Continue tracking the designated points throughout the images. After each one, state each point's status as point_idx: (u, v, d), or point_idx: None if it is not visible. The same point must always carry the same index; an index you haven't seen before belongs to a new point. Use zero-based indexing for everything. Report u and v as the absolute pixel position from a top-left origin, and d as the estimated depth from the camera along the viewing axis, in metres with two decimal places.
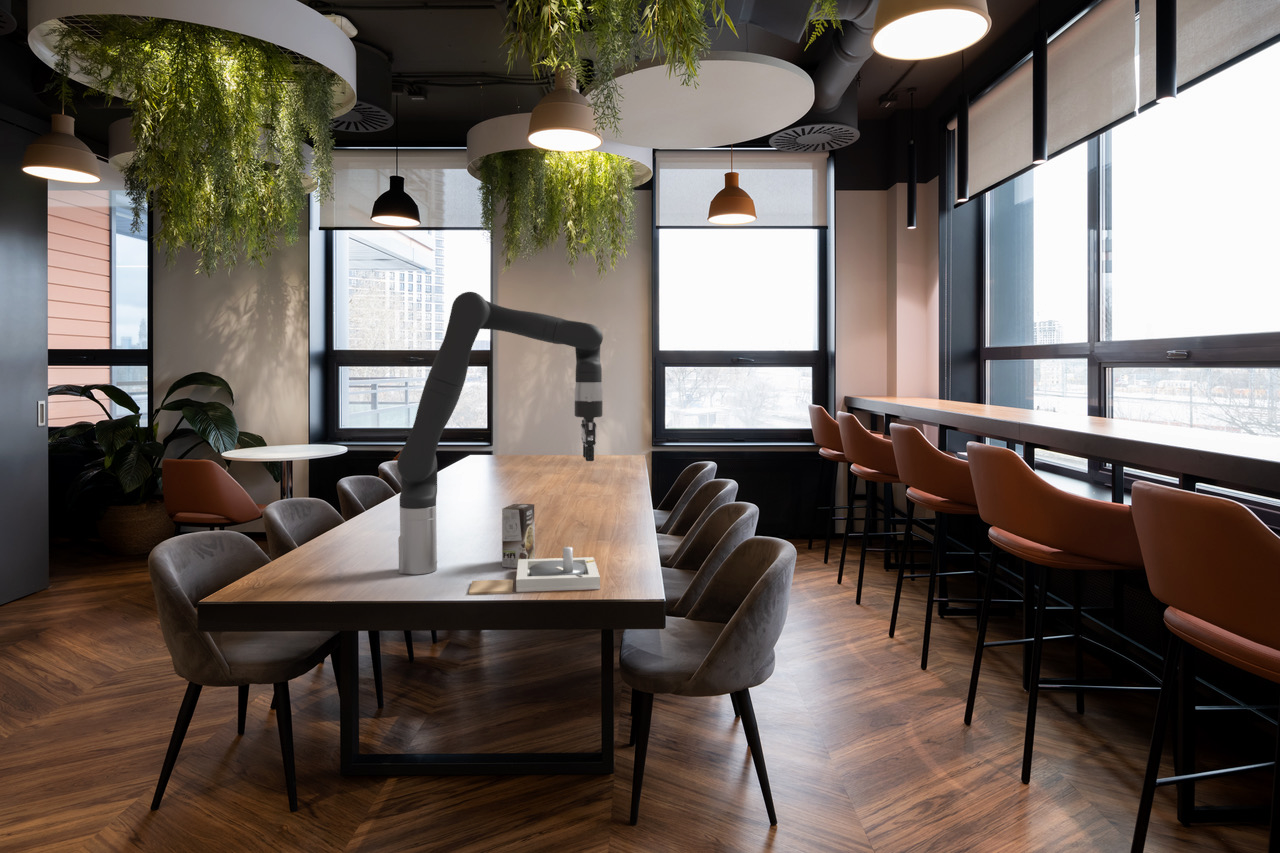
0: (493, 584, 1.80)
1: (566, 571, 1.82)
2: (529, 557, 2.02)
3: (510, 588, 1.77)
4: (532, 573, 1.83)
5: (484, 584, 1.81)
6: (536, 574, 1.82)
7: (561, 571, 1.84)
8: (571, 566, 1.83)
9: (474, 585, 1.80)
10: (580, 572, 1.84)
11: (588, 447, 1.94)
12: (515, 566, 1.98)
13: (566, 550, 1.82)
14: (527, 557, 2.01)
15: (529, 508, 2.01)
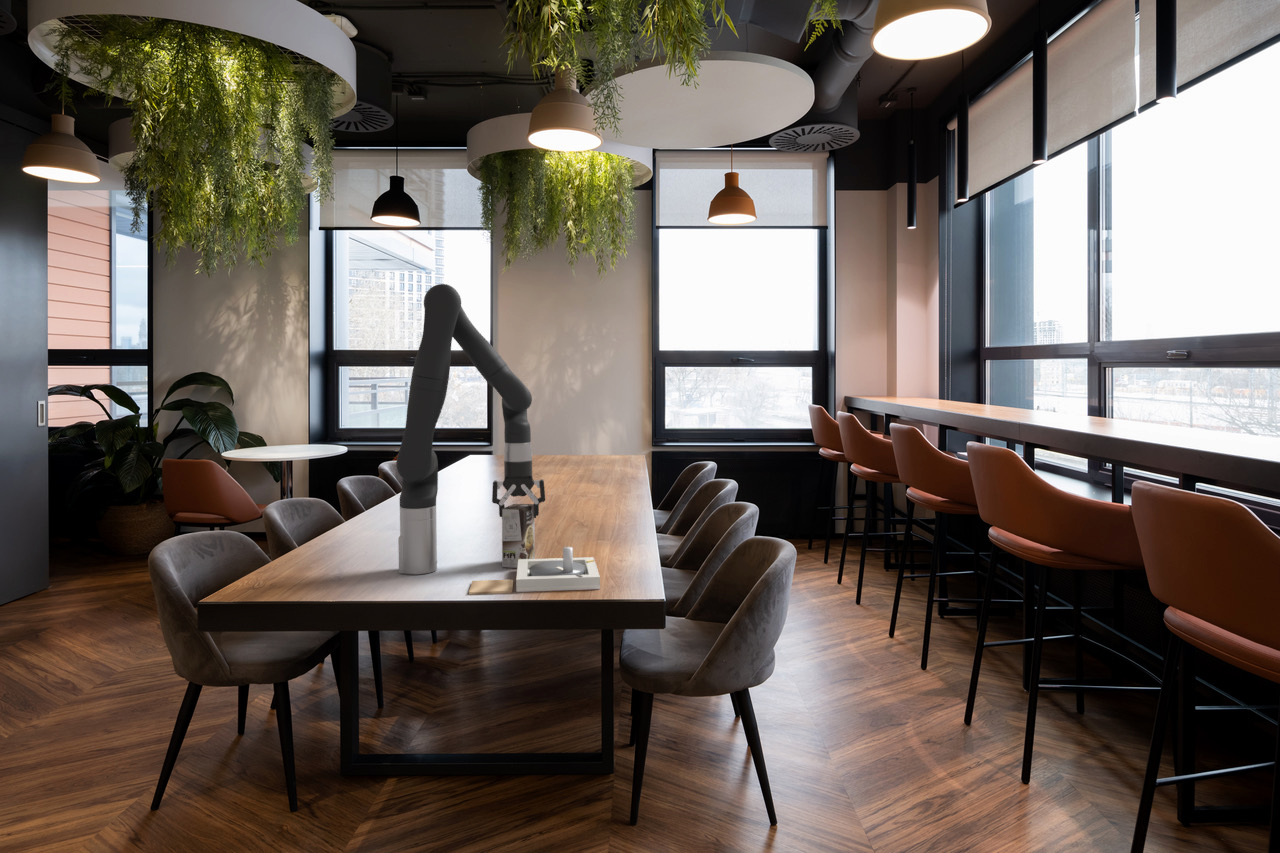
0: (493, 584, 1.80)
1: (566, 571, 1.82)
2: (529, 557, 2.02)
3: (510, 588, 1.77)
4: (532, 573, 1.83)
5: (484, 584, 1.81)
6: (536, 574, 1.82)
7: (561, 571, 1.84)
8: (571, 566, 1.83)
9: (474, 585, 1.80)
10: (580, 572, 1.84)
11: (538, 504, 2.02)
12: (515, 566, 1.98)
13: (566, 550, 1.82)
14: (527, 557, 2.01)
15: (529, 508, 2.01)
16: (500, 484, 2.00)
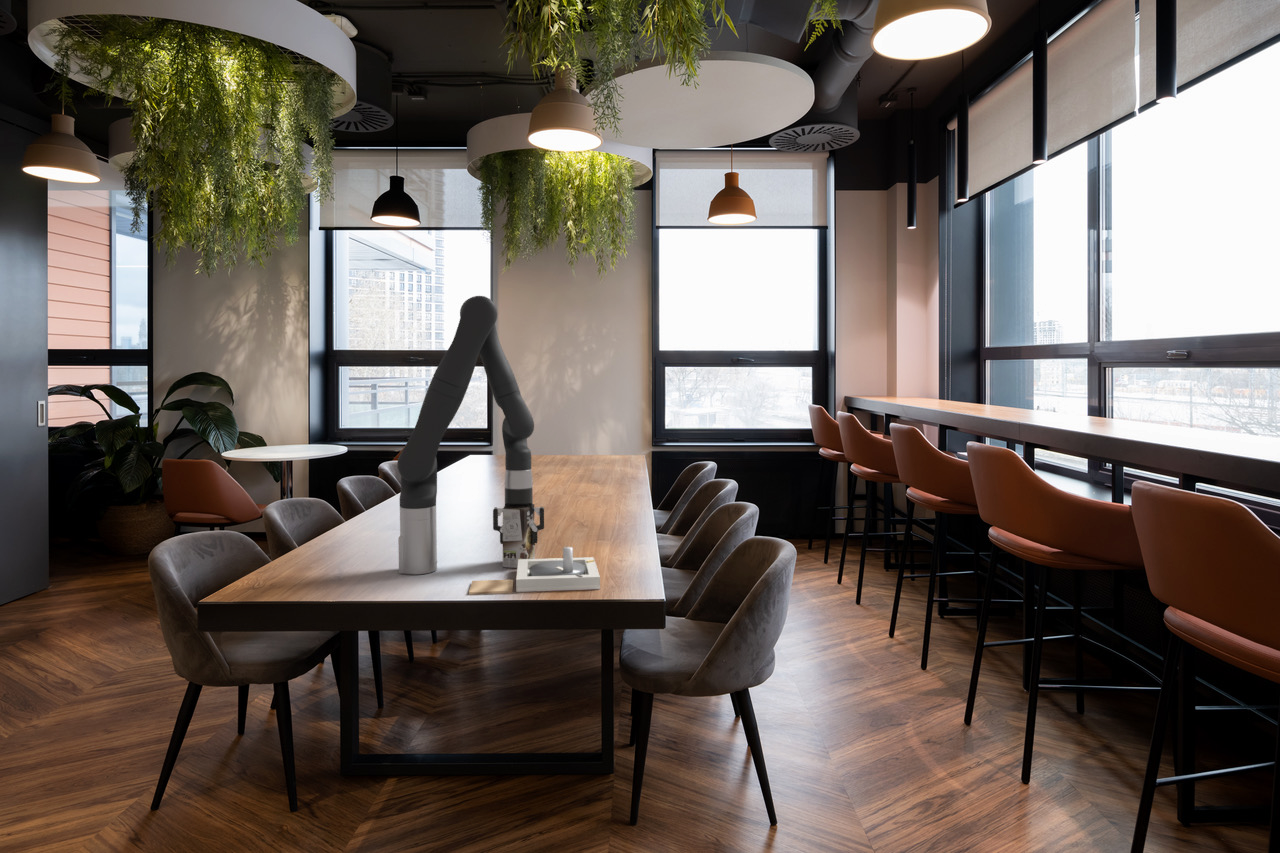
0: (493, 584, 1.80)
1: (566, 571, 1.82)
2: (529, 557, 2.02)
3: (510, 588, 1.77)
4: (532, 573, 1.83)
5: (484, 584, 1.81)
6: (536, 574, 1.82)
7: (561, 571, 1.84)
8: (571, 566, 1.83)
9: (474, 585, 1.80)
10: (580, 572, 1.84)
11: (537, 531, 2.03)
12: (516, 566, 1.98)
13: (566, 550, 1.82)
14: (528, 557, 2.01)
15: (529, 508, 2.02)
16: (500, 511, 2.01)
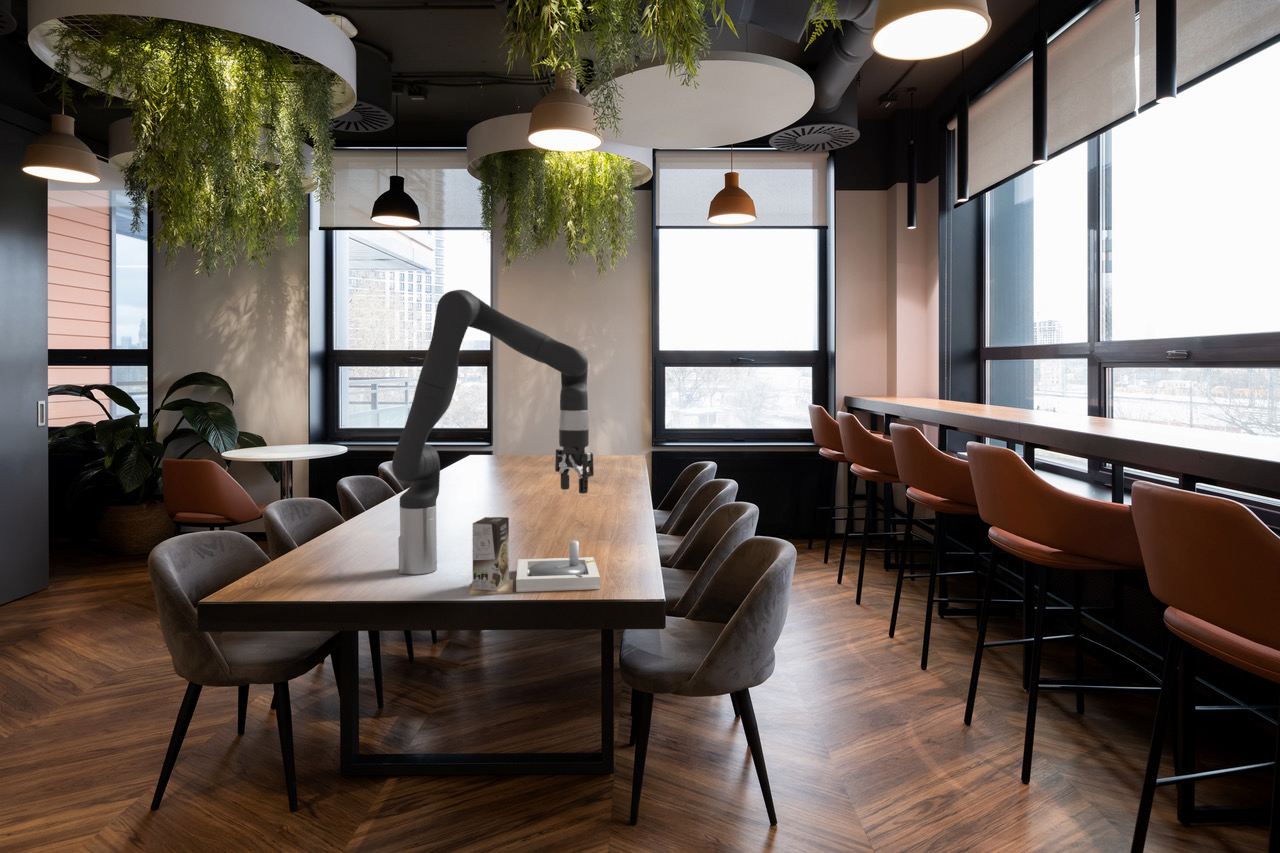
0: None
1: (578, 563, 1.90)
2: (503, 578, 1.79)
3: (510, 588, 1.77)
4: None
5: None
6: (576, 573, 1.83)
7: (572, 566, 1.89)
8: None
9: None
10: None
11: None
12: (487, 588, 1.75)
13: (578, 543, 1.90)
14: (501, 578, 1.78)
15: (503, 522, 1.78)
16: None
